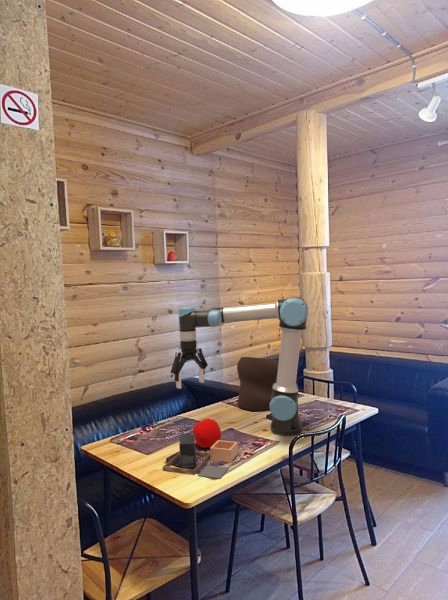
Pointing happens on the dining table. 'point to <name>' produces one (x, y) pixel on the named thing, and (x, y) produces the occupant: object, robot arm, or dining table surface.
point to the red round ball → (206, 433)
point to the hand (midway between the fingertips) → (190, 385)
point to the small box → (187, 451)
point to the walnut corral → (186, 471)
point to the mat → (213, 472)
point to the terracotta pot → (224, 451)
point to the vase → (256, 382)
